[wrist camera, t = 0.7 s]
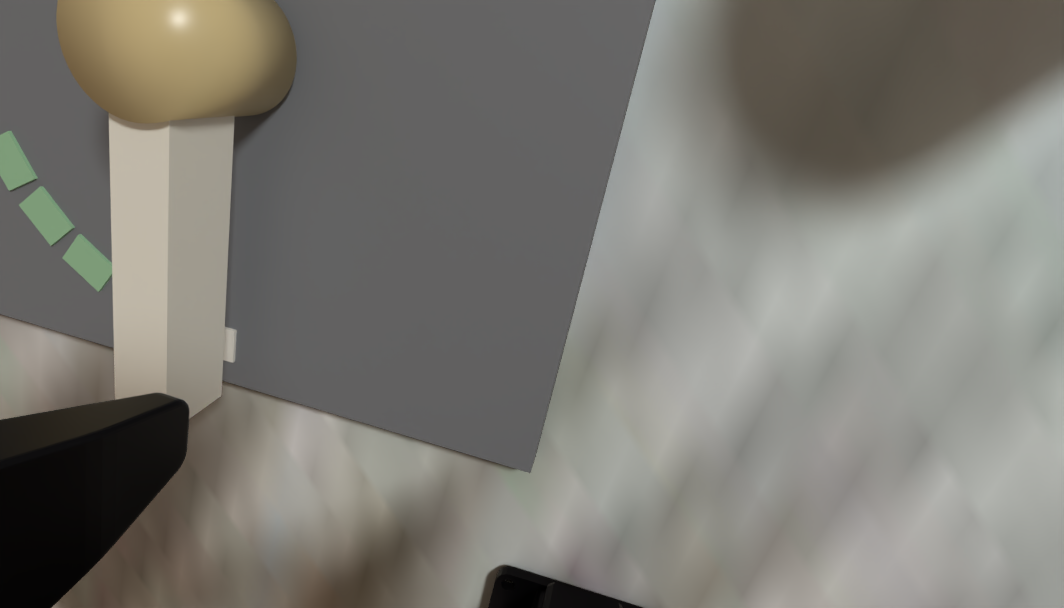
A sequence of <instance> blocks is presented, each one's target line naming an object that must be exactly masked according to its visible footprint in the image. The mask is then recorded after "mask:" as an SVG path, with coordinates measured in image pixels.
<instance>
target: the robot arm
mask: <svg viewBox="0 0 1064 608" xmlns="http://www.w3.org/2000/svg"><path fill="white" fill-rule="evenodd" d="M188 428H189V406H188V404H187V403H186V402H185V401H184V400H182V399H179V398H176V397H173V396H170V395H167V394H164V393H158V392H157V393H150V394H144V395H139V396H133V397H127V398H122V399H116V400H110V401H105V402H99V403H93V404H88V405H82V406H77V407H71V408H65V409H60V410H54V411H48V412H43V413H37V414H31V415H26V416H20V417H14V418H9V419H3V420H0V608H51V607H52V606H53V605H55V604H56V603H57V602H58V601H59V600H60V599H61V598H62V597H63V596H64V595H65V594H66V593H67V592H68V591H69V590H70V589H71V588H72V587H73V586H74V585H75V584H76V583H77V582H78V581H79V580H80V579H81V578H82V577H83V576H85V575H86V574H87V573H88V572H89V570H90V569H91V568H92V567H93V566H94V565H95V564H96V563H97V562H98V561H99V560H100V559H101V558H102V557H103V556H104V555H105V554H106V553H107V552H108V551H109V550H110V548H111V547H112V546H113V545H114V544H115V543H116V542H117V541H118V539H119V538H120V537H121V536H122V535H123V534H124V532H125V531H126V530H127V529H128V528H129V527H130V525H131V524H132V523H133V522H134V521H135V520H136V519H137V517H138V516H139V515H140V514H141V513H142V512H143V510H144V509H145V508H146V507H147V506H148V505H149V503H150V502H151V501H152V500H153V499H154V498H155V496H156V495H157V494H158V493H159V492H160V491H161V489H162V488H163V487H164V486H165V485H166V484H167V482H168V481H169V480H170V479H171V478H172V477H173V475H174V474H175V473H176V472H177V471H178V469H179V468H180V467H181V465H182V463H183V461H184V459H185V456H186V452H187V442H188ZM506 580H511V581H513V583H509V582H507V581H506ZM488 608H641V607H638V606H635V605H632V604H629V603H626V602H622V601H619V600H616V599H613V598H610V597H606V596H603V595H600V594H597V593H594V592H591V591H587V590H584V589H581V588H578V587H575V586H572V585H568V584H565V583H562V582H559V581H556V580H552V579H549V578H546V577H543V576H540V575H537V574H533V573H530V572H527V571H524V570H521V569H518V568H514V567H509V566H507V567H503V568H501V569H500V570H499V572H498V574H497V577H496V580H495V584H494V588H493V592H492V595H491V599H490V603H489V607H488Z"/></svg>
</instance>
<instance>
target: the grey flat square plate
mask: <svg viewBox="0 0 1064 608" xmlns="http://www.w3.org/2000/svg"><path fill="white" fill-rule="evenodd" d="M274 1H275V2H276V3H277V4H278V5H279V7H280V8H281V9H282V11H283V12H284V14H285V16H286V18H287V19H288V22H289V24H290V26H291V29H292V32H293V35H294V39H295V44H296V52H297V64H296V71H295V76H294V79H293V82H292V85H291V87H290V89H289V91H288V92H287V94H286V96H285V97H284V98H283V99H282V101H281V102H280V103H278V104H277V105H276V106H275V107H274V108H272V109H271V110H269V111H267V112H264V113H261V114H258V115H251V116H239V117H235V118H234V139H233V160H232V182H231V203H230V224H229V245H228V267H227V288H226V309H225V330H224V352H223V373H222V381H225V382H228V383H232V384H235V385H238V386H242V387H245V388H248V389H252V390H255V391H258V392H262V393H265V394H268V395H272V396H275V397H278V398H282V399H285V400H288V401H292V402H295V403H298V404H302V405H305V406H308V407H312V408H315V409H318V410H322V411H325V412H328V413H332V414H335V415H338V416H342V417H345V418H348V419H352V420H355V421H358V422H362V423H365V424H368V425H372V426H375V427H378V428H382V429H385V430H388V431H392V432H395V433H398V434H402V435H405V436H408V437H412V438H415V439H418V440H422V441H425V442H428V443H432V444H435V445H438V446H442V447H445V448H448V449H452V450H455V451H458V452H462V453H465V454H468V455H472V456H475V457H478V458H482V459H485V460H488V461H492V462H495V463H499V464H502V465H505V466H509V467H512V468H515V469H519V470H522V471H525V472H529V473H530V472H531V469H532V466H533V463H534V460H535V457H536V453H537V449H538V445H539V441H540V438H541V434H542V430H543V426H544V422H545V419H546V415H547V411H548V407H549V403H550V400H551V396H552V392H553V388H554V384H555V381H556V377H557V373H558V369H559V365H560V362H561V358H562V354H563V350H564V346H565V343H566V339H567V335H568V331H569V327H570V324H571V320H572V316H573V312H574V308H575V305H576V301H577V297H578V293H579V289H580V286H581V282H582V278H583V274H584V270H585V267H586V263H587V259H588V255H589V251H590V248H591V244H592V240H593V236H594V232H595V229H596V225H597V221H598V217H599V213H600V210H601V206H602V202H603V198H604V194H605V191H606V187H607V183H608V179H609V175H610V172H611V168H612V164H613V160H614V156H615V153H616V149H617V145H618V141H619V137H620V134H621V130H622V126H623V122H624V118H625V115H626V111H627V107H628V103H629V99H630V96H631V92H632V88H633V84H634V81H635V77H636V73H637V69H638V65H639V62H640V58H641V54H642V50H643V46H644V43H645V39H646V35H647V31H648V27H649V24H650V20H651V16H652V12H653V8H654V5H655V1H656V0H274ZM57 2H58V0H0V314H2V315H5V316H8V317H12V318H15V319H18V320H22V321H25V322H28V323H32V324H35V325H38V326H42V327H45V328H48V329H52V330H55V331H58V332H62V333H65V334H68V335H72V336H75V337H78V338H82V339H85V340H88V341H92V342H95V343H98V344H102V345H105V346H108V347H112V348H114V330H113V286H112V242H111V197H110V153H109V112H107V111H106V110H104V109H102V108H101V107H100V106H99V105H97V104H96V103H95V102H94V101H93V100H92V99H91V98H90V97H89V96H88V95H87V94H86V93H85V92H84V90H83V89H82V88H81V87H80V86H79V84H78V83H77V81H76V80H75V78H74V77H73V75H72V73H71V71H70V69H69V67H68V65H67V63H66V61H65V58H64V56H63V53H62V50H61V46H60V43H59V38H58V33H57V23H56V11H57Z"/></svg>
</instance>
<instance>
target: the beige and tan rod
mask: <svg viewBox="0 0 1064 608" xmlns="http://www.w3.org/2000/svg"><path fill="white" fill-rule="evenodd" d="M56 23H57V33H58V38H59V43H60V46H61V50H62V53H63V56H64V58H65V61H66V63H67V65H68V67H69V69H70V71H71V73H72V75H73V77H74V78H75V80H76V81H77V83H78V84H79V86H80V87H81V88H82V89H83V90H84V92H85V93H86V94H87V95H88V96H89V97H90V98H91V99H92V100H93V101H94V102H95V103H96V104H97V105H99V106H100V107H101V108H102V109H104V110H106V111H107V112H109V153H110V197H111V242H112V286H113V330H114V374H115V400H116V399H122V398H127V397H133V396H139V395H144V394H150V393H157V392H158V393H164V394H167V395H170V396H173V397H176V398H179V399H182V400H184V401H185V402H186V403H187V404H188V406H189V419H190V418H191V417H193V416H194V415H195V414H197V413H198V412H200V411H201V410H202V409H204V408H205V407H207V406H208V405H209V404H211V403H212V402H214V401H215V400H216V399H218V398H219V397H220V396H221V394H222V373H223V352H224V330H225V309H226V288H227V267H228V245H229V224H230V203H231V182H232V160H233V139H234V118H235V117H239V116H251V115H258V114H261V113H264V112H267V111H269V110H271V109H272V108H274V107H275V106H276V105H277V104H278V103H280V102H281V101H282V99H283V98H284V97H285V96H286V94H287V92H288V91H289V89H290V87H291V85H292V82H293V79H294V76H295V71H296V64H297V52H296V44H295V39H294V35H293V32H292V29H291V26H290V24H289V22H288V19H287V18H286V16H285V14H284V12H283V11H282V9H281V8H280V7H279V5H278V4H277V3H276V2H275V1H274V0H58V2H57V11H56Z"/></svg>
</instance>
